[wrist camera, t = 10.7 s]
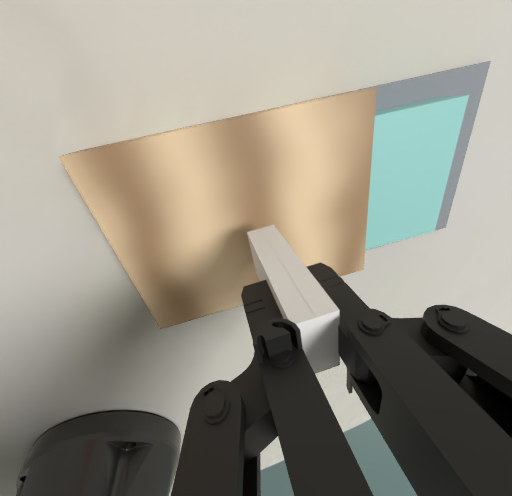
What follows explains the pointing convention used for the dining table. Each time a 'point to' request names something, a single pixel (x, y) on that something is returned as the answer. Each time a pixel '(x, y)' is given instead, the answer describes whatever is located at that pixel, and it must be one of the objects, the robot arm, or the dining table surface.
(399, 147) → the turquoise rectangular block
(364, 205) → the tan wooden board
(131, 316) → the dining table surface
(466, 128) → the mat
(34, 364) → the dining table surface
